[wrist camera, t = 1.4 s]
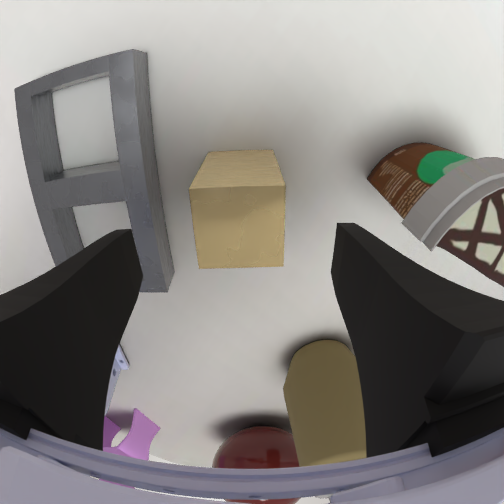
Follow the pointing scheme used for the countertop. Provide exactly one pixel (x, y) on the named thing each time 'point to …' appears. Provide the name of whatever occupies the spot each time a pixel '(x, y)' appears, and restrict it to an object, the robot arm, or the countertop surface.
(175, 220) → the countertop surface
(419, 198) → the food container
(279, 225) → the light brown wooden block
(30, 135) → the steel window frame
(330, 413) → the squeeze bottle
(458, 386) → the robot arm
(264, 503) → the round-bottom flask
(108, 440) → the toy chair
